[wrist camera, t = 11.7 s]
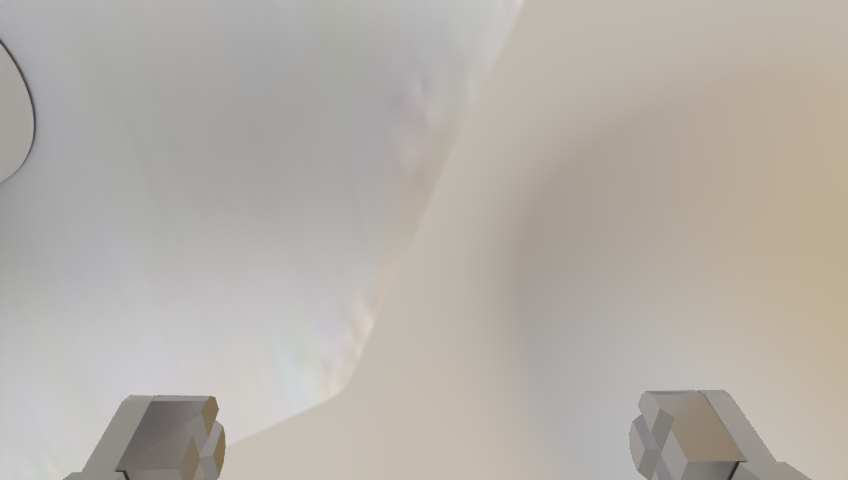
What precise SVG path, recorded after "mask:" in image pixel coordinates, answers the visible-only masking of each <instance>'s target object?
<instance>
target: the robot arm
mask: <svg viewBox="0 0 848 480" xmlns="http://www.w3.org/2000/svg"><path fill="white" fill-rule="evenodd" d="M33 132H34V118H33V110H32V105H31V101H30V97H29V94H28V91H27V88H26V86H25V83H24V81H23V79H22V77H21V75H20V73H19V71H18V69H17V67H16V65H15V64H14V62H13V61H12V59H11V57H10V56H9V54H8V53H7V52H6V50H5V49H4V48H3V46H2V45H1V44H0V183H2V182H3V181H4V180H6V179H7V178H8V177H10V176H11V175H12V174H13V173H14V172H15V171H17V170H18V168H19V167H20V166H21V165H22V163H23V162H24V160H25V159H26V157H27V155H28V153H29V150H30V148H31V144H32V140H33ZM638 406H639V408H640V411H641V413H642V414H641V415H640V416H639V417H638V418H636V419H635V420H634V421H633V422H632V426H631V430H630V450H631V454H632V458H633V461H634V463H635V466H636V468H637V471H638V472H639V473H641V474H642V475H643V476H644V477H645V478H646V479H648V480H811V479H810V478H808V477H807V476H805V475H804V474H802V473H801V472H799V471H797V470H796V469H795V468H793V467H792V466H790V465H789V464H787V463H786V462H777V461H776V460H775V459H774V457H773V456H772V454H771V453H770V451H769V450H768V448H767V447H766V446H765V444H764V443H763V441H762V440H761V438H760V437H759V436H758V434H757V433H756V431H755V430H754V428H753V427H752V425H751V424H750V422H749V421H748V420H747V418H746V417H745V415H744V414H743V412H742V411H741V410H740V408H739V407H738V405H737V404H736V402H735V401H734V399H733V398H732V396H731V395H730V394H729V393H727V392H726V391H724V390H698V391H694V390H685V391H683V390H682V391H646V392H645V393H644V394H642V395H641V398H640V401H639V404H638ZM218 411H219V408H218V405H217V402H216V398H215V397H212V396H179V395H157V396H153V395H130V396H129V397H127V398H126V399H125V400H124V401H123V402H122V403H121V405H120V407H119V408H118V410H117V412H116V413H115V415H114V417H113V419H112V420H111V422H110V424H109V425H108V427H107V429H106V431H105V432H104V434H103V436H102V437H101V439H100V441H99V443H98V444H97V446H96V448H95V450H94V451H93V453H92V455H91V456H90V458H89V460H88V462H87V463H86V465H85V467H84V468H83V470H82V472H73V473H71V474H70V475H68V476H67V477H66V478H64V479H63V480H217V479H218V478H219V475H220V472H221V469H222V465H223V461H224V455H225V447H226V446H225V433H224V429H223V426H222V425H221V424H220V423H218V422H217V421H216V420H215V419H216V416H217V413H218Z"/></svg>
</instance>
